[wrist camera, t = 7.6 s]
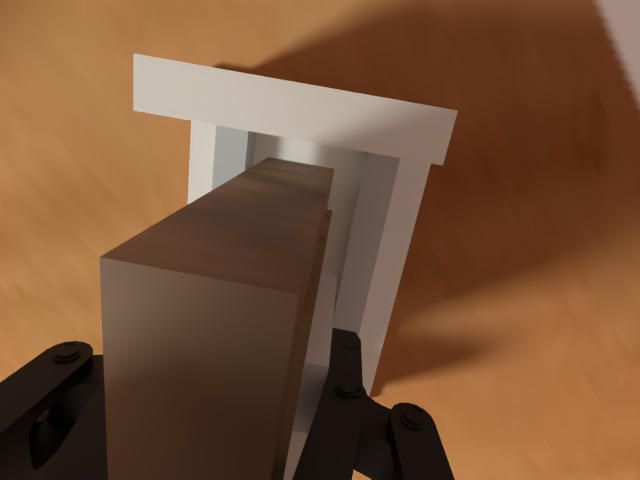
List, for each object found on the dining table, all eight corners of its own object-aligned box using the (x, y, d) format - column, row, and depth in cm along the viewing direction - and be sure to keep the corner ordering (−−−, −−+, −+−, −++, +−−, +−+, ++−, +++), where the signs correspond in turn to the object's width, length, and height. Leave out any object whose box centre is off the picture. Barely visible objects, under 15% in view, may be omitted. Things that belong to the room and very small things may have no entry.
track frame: (185, 365, 25) (101, 498, 16) (201, 72, 19) (80, 44, 10) (365, 399, 25) (372, 551, 16) (439, 114, 19) (513, 120, 10)
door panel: (242, 373, 21) (115, 685, 10) (268, 156, 17) (99, 256, 6) (300, 384, 21) (240, 711, 10) (340, 169, 17) (316, 297, 6)
